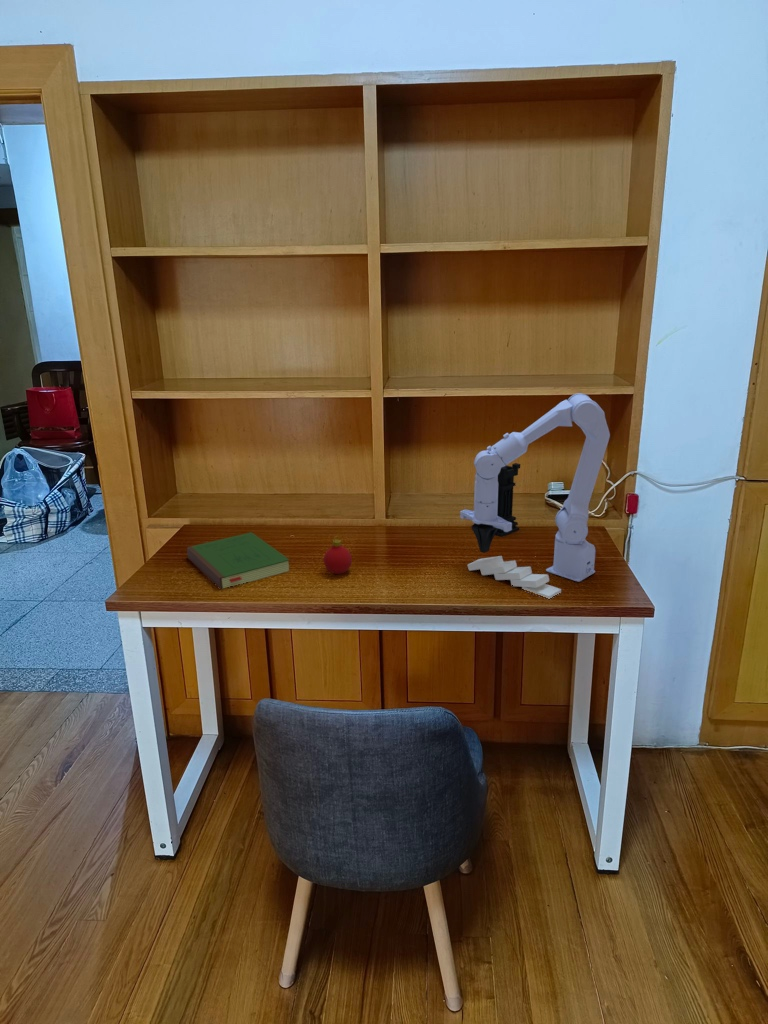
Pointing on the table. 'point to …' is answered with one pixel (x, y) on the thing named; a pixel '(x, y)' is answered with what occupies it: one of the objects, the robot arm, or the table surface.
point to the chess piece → (506, 497)
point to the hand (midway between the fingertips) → (484, 551)
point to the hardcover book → (237, 560)
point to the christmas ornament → (337, 558)
